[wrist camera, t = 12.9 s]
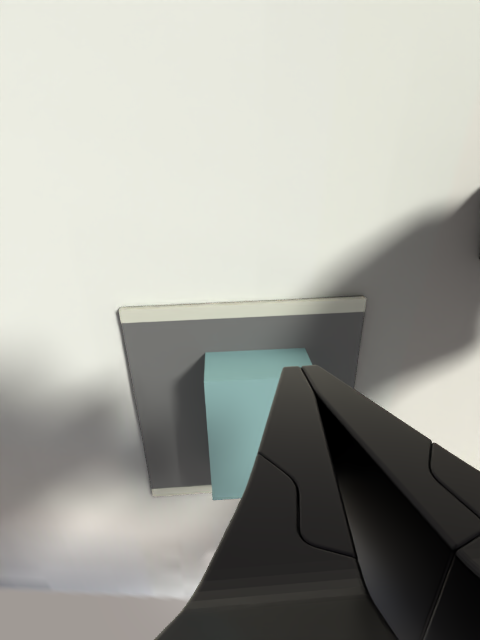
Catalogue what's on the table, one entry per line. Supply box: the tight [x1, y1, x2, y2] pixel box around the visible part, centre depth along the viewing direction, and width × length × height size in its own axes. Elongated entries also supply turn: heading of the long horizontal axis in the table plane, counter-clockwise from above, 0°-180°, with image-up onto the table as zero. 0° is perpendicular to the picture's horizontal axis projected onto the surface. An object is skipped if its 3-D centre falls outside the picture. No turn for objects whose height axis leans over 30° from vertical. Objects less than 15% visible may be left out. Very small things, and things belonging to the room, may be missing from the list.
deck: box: [204, 348, 312, 500], centre depth 22 cm, size 3×9×6 cm
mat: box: [119, 296, 367, 497], centre depth 24 cm, size 14×15×1 cm
